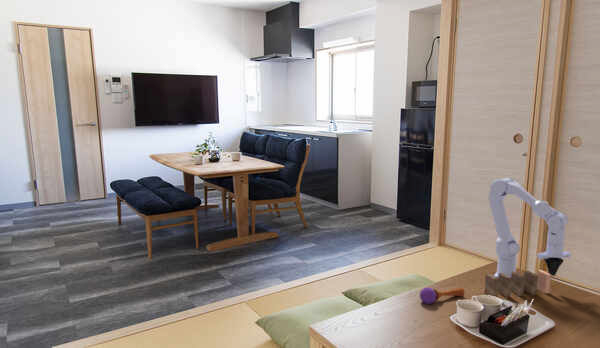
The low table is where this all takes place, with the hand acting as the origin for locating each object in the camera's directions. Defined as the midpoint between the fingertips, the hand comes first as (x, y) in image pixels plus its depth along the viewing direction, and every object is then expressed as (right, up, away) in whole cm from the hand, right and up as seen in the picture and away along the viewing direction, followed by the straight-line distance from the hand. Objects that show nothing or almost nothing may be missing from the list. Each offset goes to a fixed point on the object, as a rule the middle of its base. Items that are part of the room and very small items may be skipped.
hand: (551, 274), depth 170 cm
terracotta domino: (-4, -7, 0) cm, 8 cm away
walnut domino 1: (-27, -7, -5) cm, 29 cm away
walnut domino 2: (-21, -7, -3) cm, 23 cm away
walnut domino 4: (-10, -7, -1) cm, 12 cm away
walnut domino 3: (-16, -7, -2) cm, 17 cm away
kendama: (-48, -8, -8) cm, 50 cm away
